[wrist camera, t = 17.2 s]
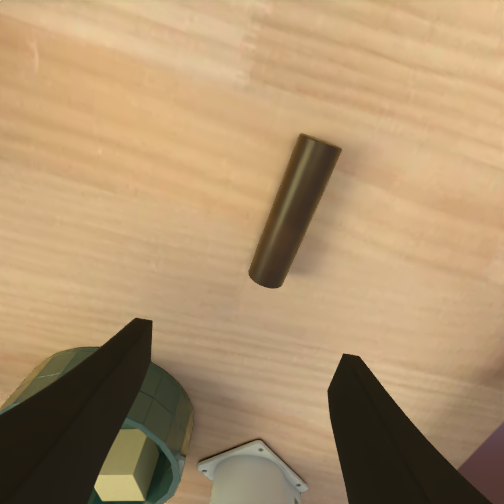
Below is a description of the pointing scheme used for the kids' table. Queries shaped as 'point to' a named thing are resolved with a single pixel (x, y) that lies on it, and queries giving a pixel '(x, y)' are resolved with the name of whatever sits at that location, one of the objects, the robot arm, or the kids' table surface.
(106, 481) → the cream block
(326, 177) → the dark brown cylinder
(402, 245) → the kids' table surface
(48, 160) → the kids' table surface
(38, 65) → the kids' table surface
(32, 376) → the bowl
